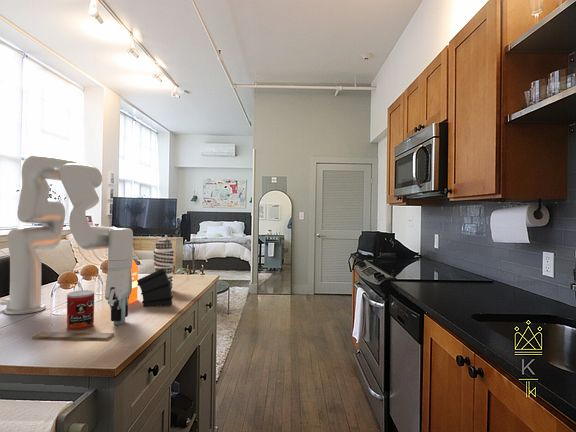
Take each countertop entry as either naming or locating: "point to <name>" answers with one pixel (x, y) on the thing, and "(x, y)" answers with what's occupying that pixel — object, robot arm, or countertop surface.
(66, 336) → the batten
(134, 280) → the orange juice
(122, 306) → the peg
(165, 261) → the decorative candle
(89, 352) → the countertop surface
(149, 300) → the black layered block
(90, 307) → the canned food
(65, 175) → the robot arm
